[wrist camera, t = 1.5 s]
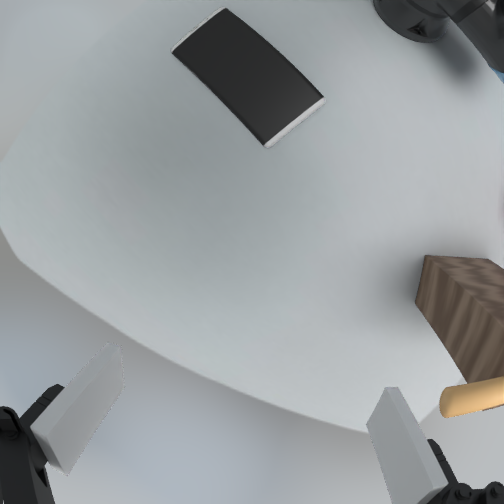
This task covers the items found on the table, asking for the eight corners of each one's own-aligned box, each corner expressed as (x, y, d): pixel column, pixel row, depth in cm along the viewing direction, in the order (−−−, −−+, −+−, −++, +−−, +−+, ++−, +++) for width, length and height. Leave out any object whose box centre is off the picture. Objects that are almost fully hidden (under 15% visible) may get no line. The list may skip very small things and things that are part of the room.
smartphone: (267, 150, 47) (266, 150, 45) (171, 52, 43) (167, 50, 41) (327, 102, 43) (328, 100, 41) (224, 8, 39) (222, 4, 37)
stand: (414, 303, 50) (489, 423, 19) (425, 255, 47) (529, 356, 16) (477, 302, 48) (558, 395, 17) (488, 259, 45) (588, 337, 14)
